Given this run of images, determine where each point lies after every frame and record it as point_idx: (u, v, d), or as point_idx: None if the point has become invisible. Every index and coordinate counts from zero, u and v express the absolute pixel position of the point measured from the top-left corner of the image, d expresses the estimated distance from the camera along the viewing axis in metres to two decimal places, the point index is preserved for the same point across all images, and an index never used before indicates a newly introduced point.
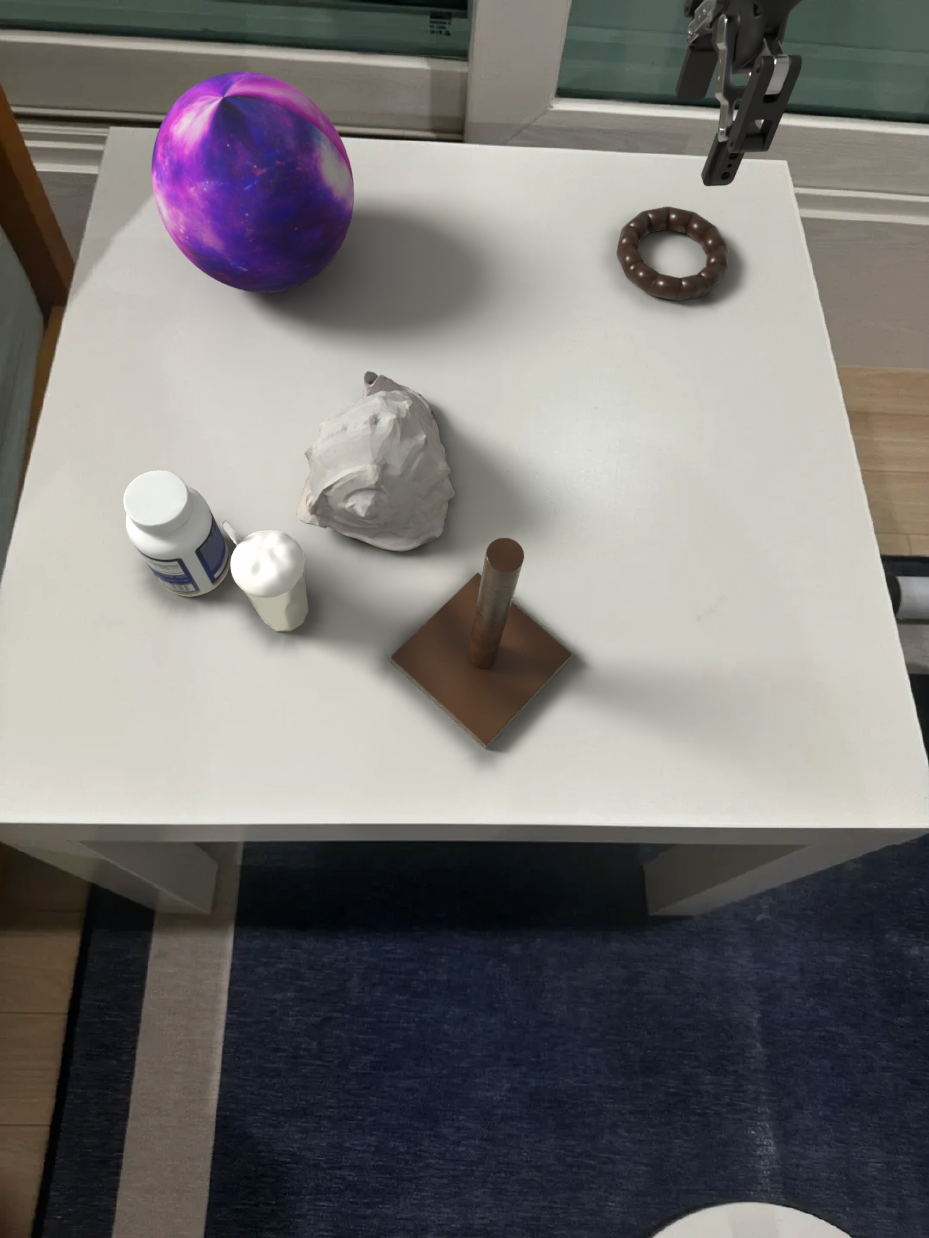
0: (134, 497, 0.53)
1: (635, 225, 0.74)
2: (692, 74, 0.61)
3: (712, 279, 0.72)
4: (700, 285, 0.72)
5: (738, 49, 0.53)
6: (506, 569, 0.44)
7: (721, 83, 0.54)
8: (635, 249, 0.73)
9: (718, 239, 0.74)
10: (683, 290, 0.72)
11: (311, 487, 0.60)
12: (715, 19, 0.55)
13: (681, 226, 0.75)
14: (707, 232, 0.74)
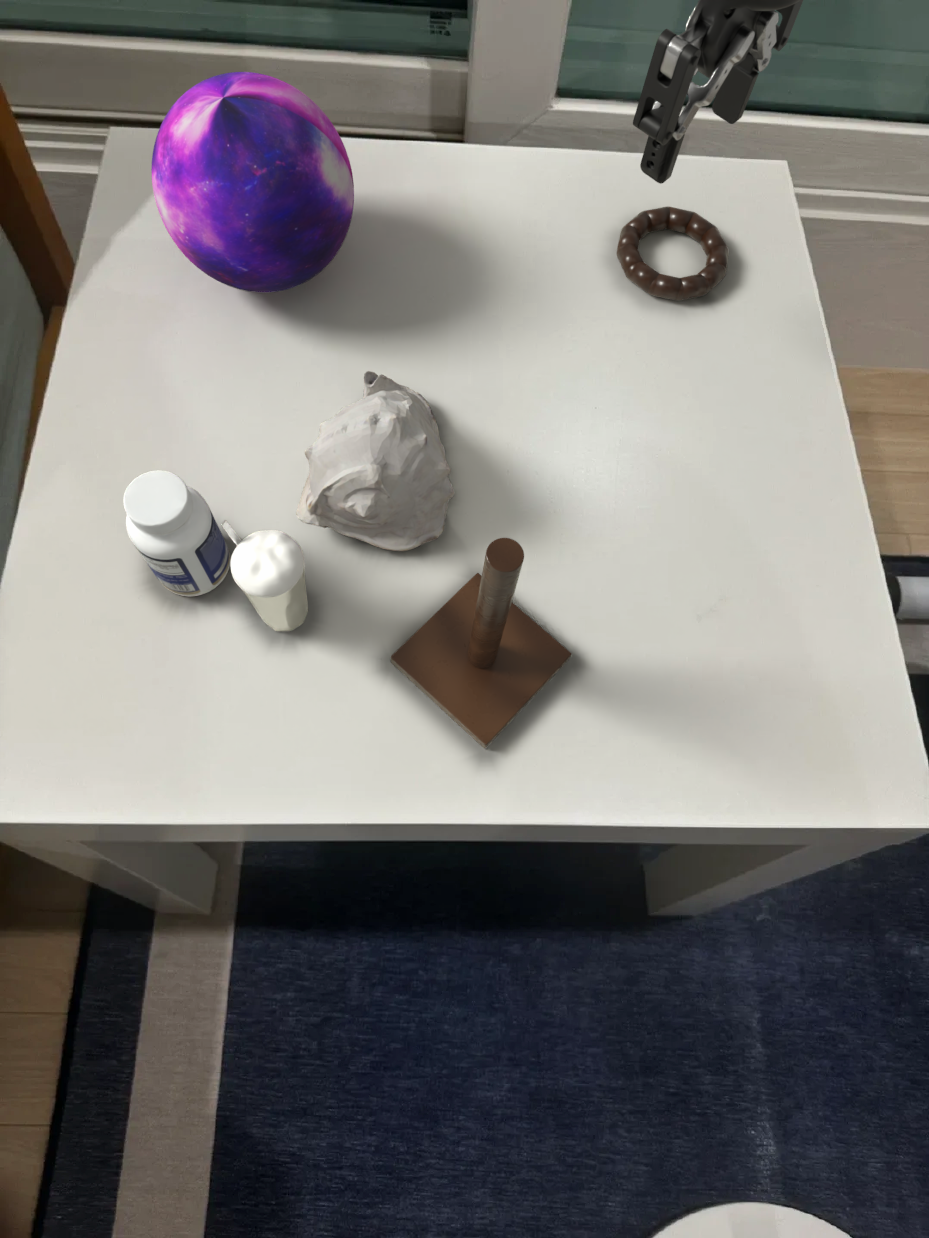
0: (134, 497, 0.53)
1: (635, 225, 0.74)
2: (727, 89, 0.60)
3: (712, 279, 0.72)
4: (700, 285, 0.72)
5: None
6: (506, 569, 0.44)
7: None
8: (635, 249, 0.73)
9: (718, 239, 0.74)
10: (683, 290, 0.72)
11: (311, 487, 0.60)
12: None
13: (681, 226, 0.75)
14: (707, 232, 0.74)
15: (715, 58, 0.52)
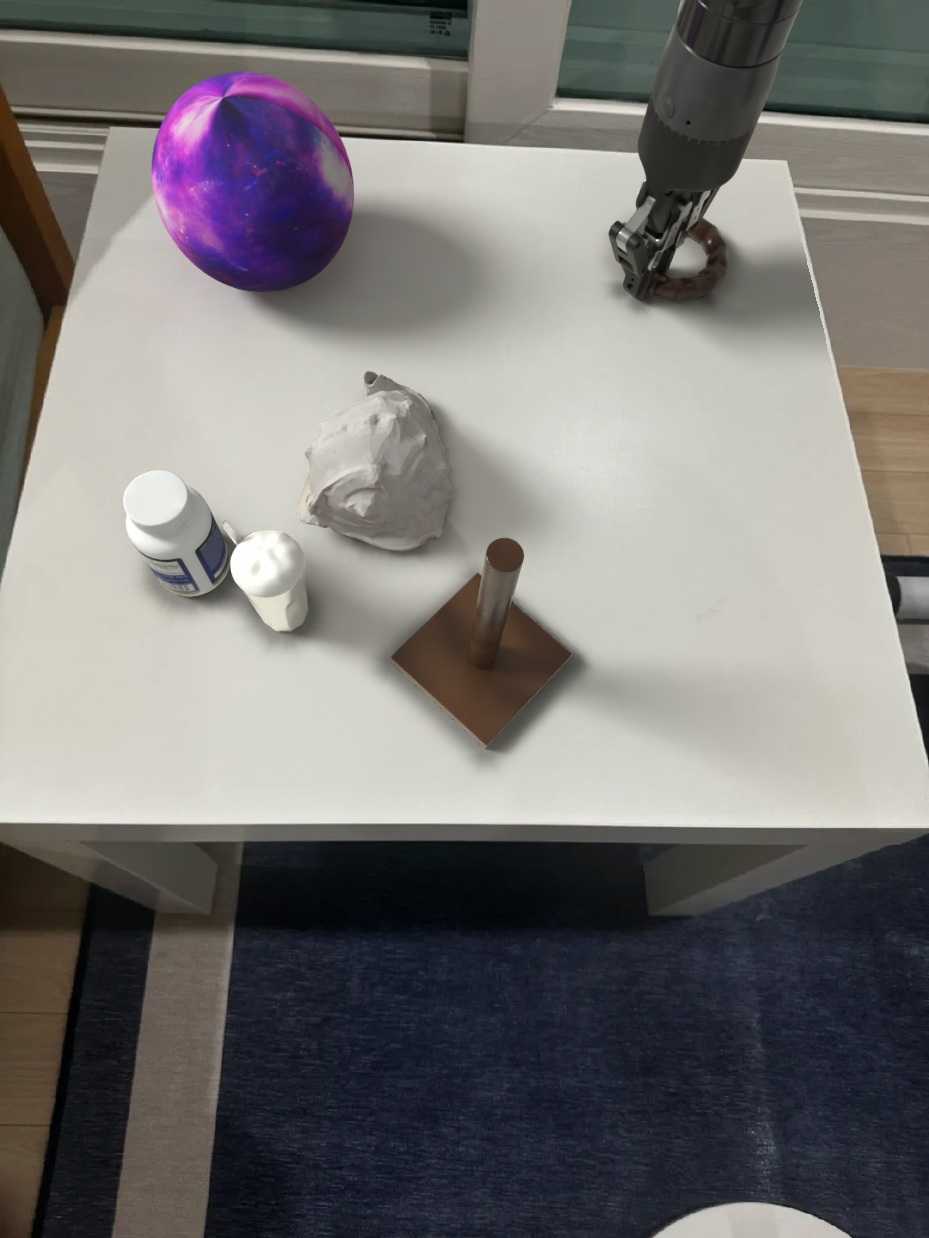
0: (134, 497, 0.53)
1: None
2: None
3: (712, 279, 0.72)
4: (700, 284, 0.72)
5: None
6: (506, 569, 0.44)
7: None
8: None
9: (718, 239, 0.74)
10: (683, 290, 0.72)
11: (311, 487, 0.60)
12: None
13: None
14: (707, 232, 0.74)
15: (660, 222, 0.64)
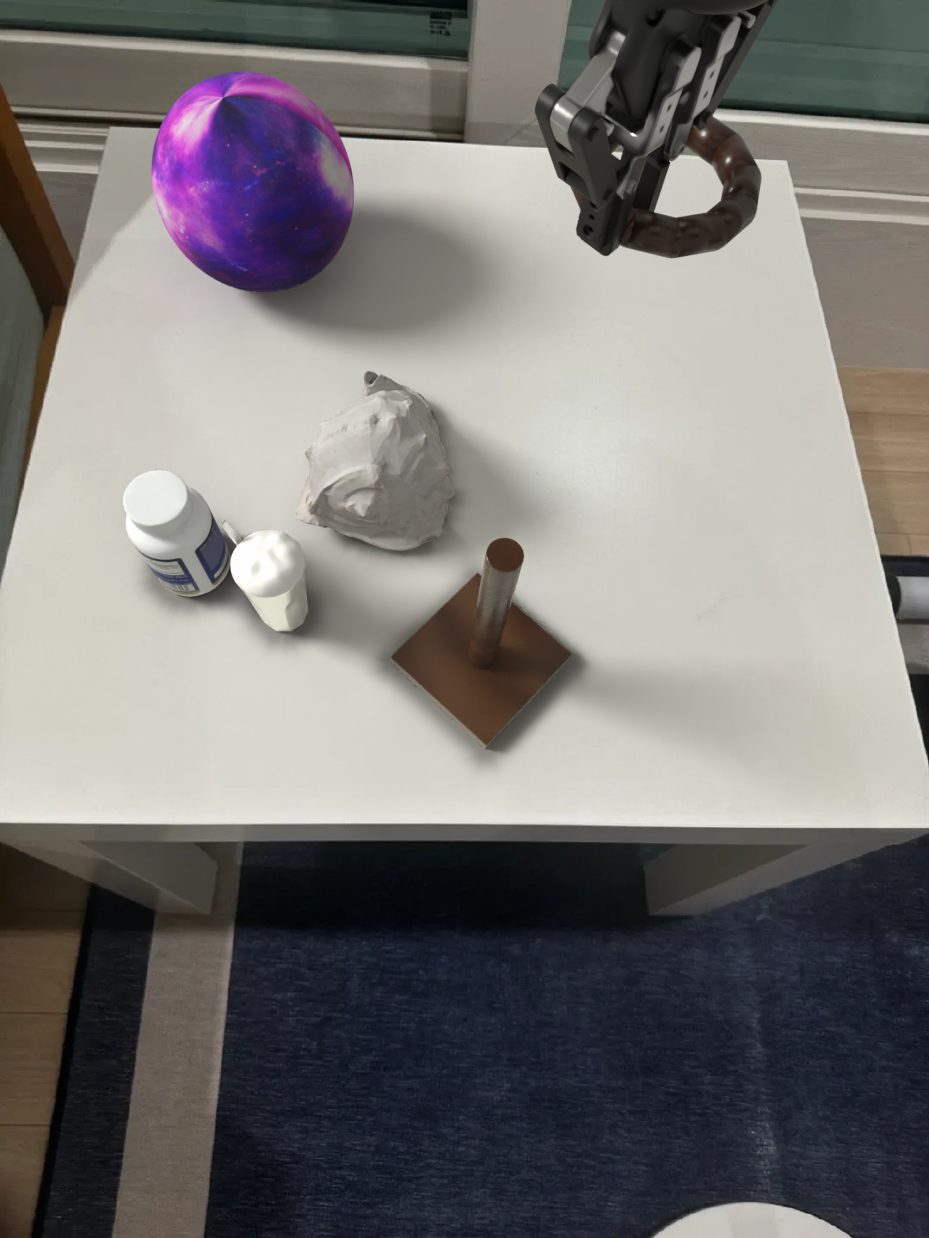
0: (134, 497, 0.53)
1: None
2: None
3: (732, 221, 0.41)
4: (711, 230, 0.41)
5: None
6: (506, 569, 0.44)
7: None
8: None
9: (744, 155, 0.43)
10: (682, 238, 0.40)
11: (311, 487, 0.60)
12: None
13: None
14: (725, 143, 0.43)
15: (637, 90, 0.32)
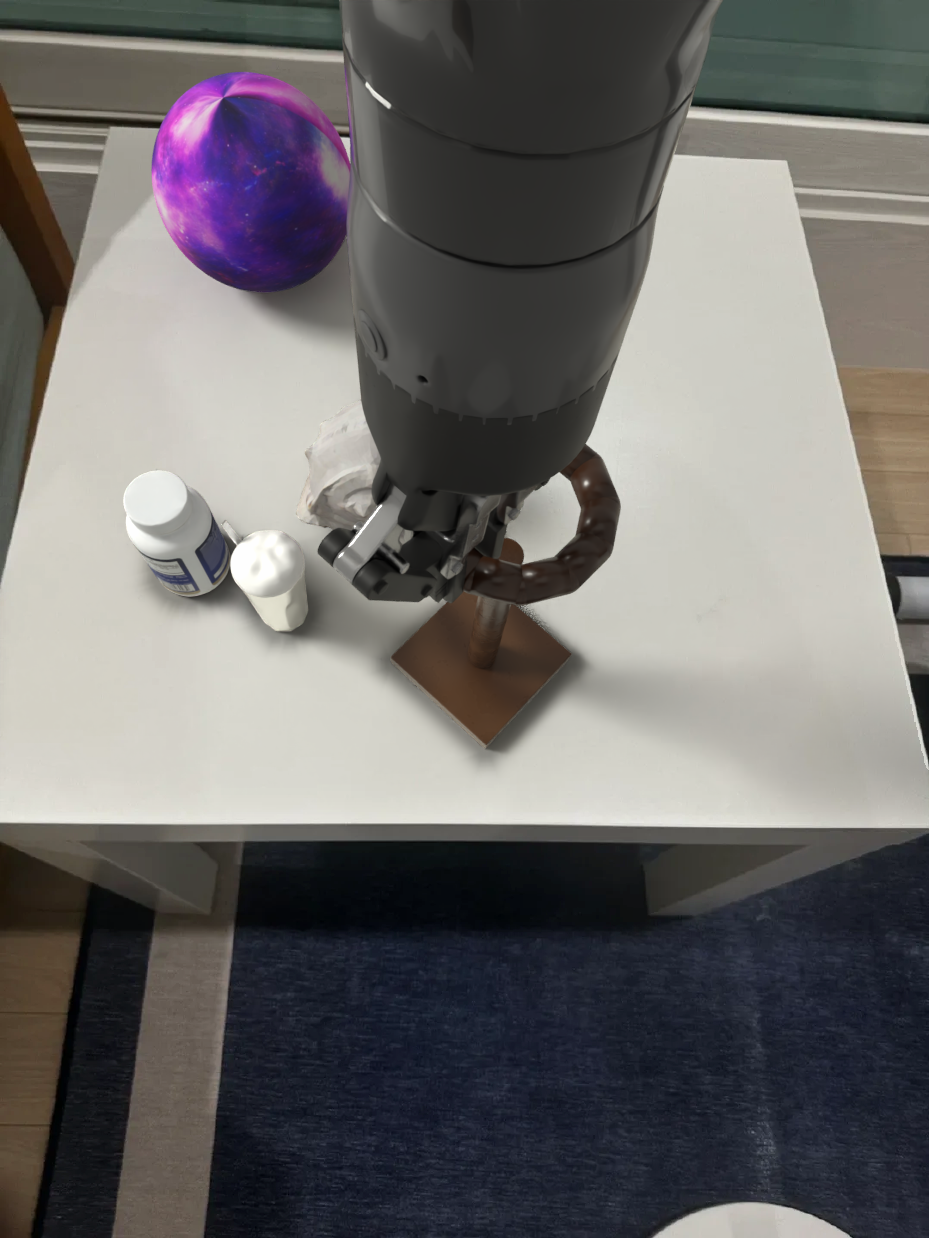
0: (134, 497, 0.53)
1: None
2: None
3: (583, 569, 0.38)
4: (559, 580, 0.38)
5: None
6: None
7: None
8: None
9: (600, 483, 0.39)
10: (526, 592, 0.37)
11: (311, 487, 0.60)
12: None
13: None
14: (581, 467, 0.40)
15: (432, 528, 0.29)
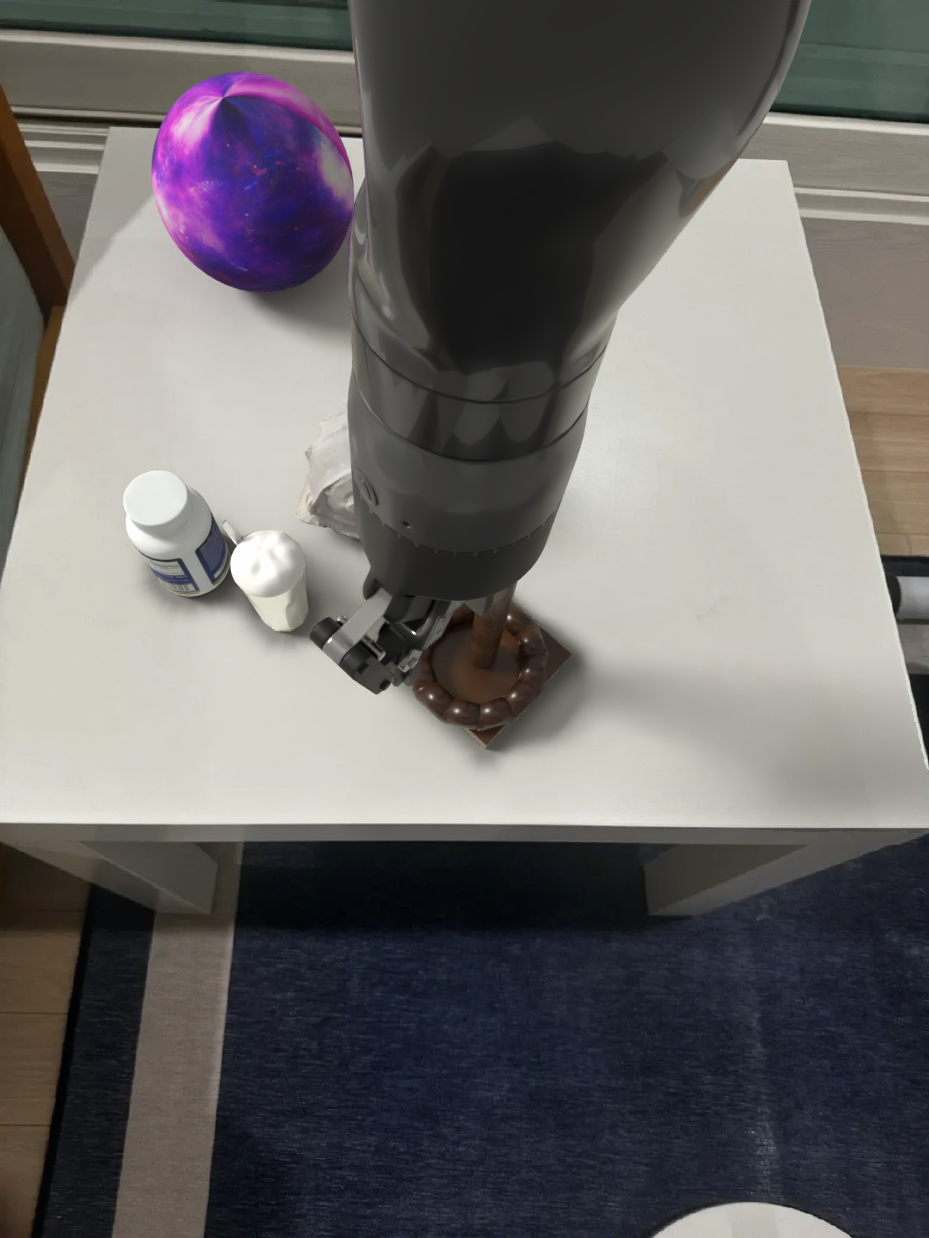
0: (134, 497, 0.53)
1: None
2: None
3: (521, 706, 0.56)
4: (505, 714, 0.56)
5: None
6: None
7: None
8: (424, 664, 0.57)
9: (534, 643, 0.58)
10: (483, 724, 0.56)
11: (311, 487, 0.60)
12: None
13: None
14: (521, 632, 0.58)
15: (413, 619, 0.35)
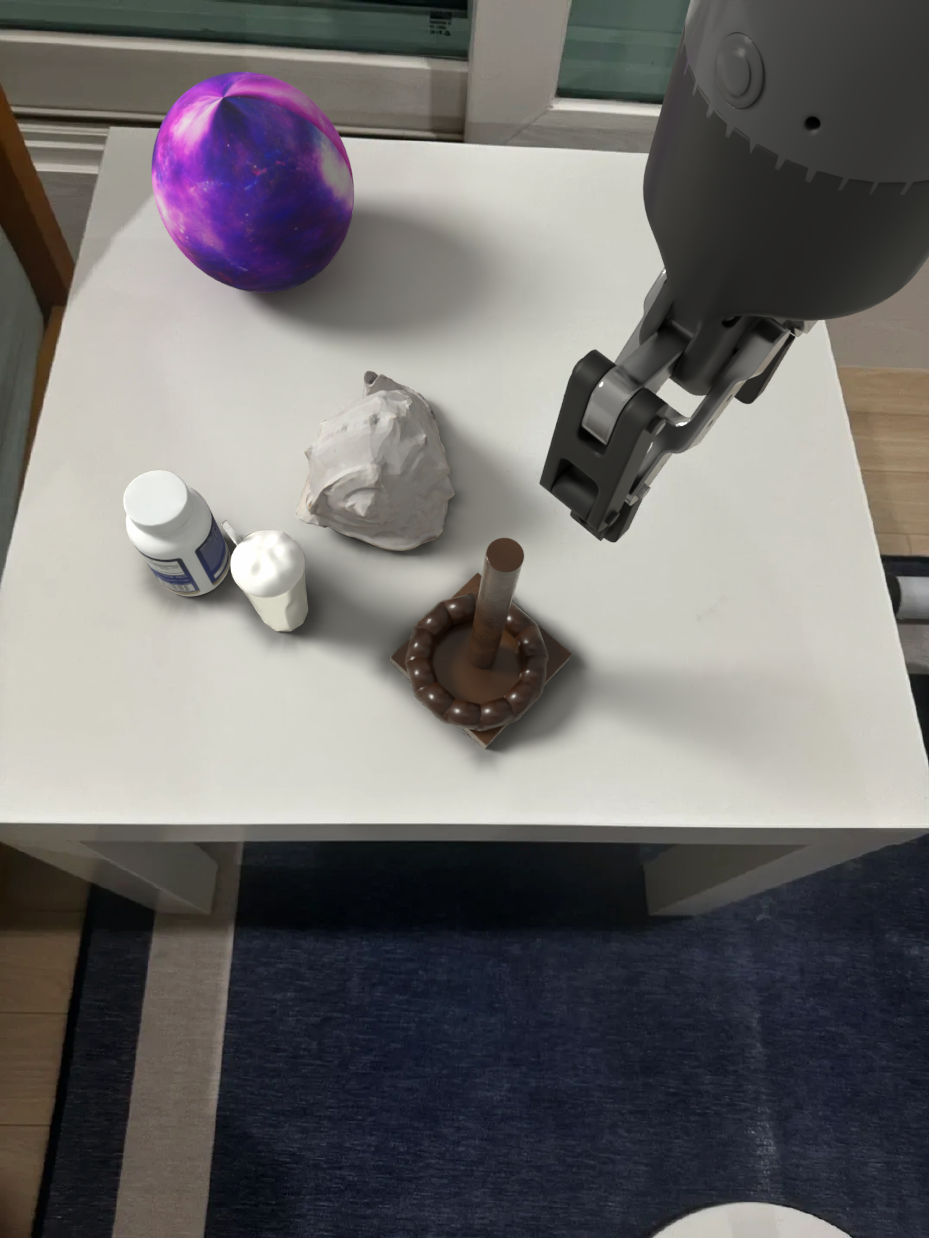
0: (134, 497, 0.53)
1: (429, 626, 0.58)
2: None
3: (522, 706, 0.56)
4: (506, 715, 0.56)
5: None
6: (506, 569, 0.44)
7: None
8: (425, 664, 0.57)
9: (534, 644, 0.58)
10: (483, 724, 0.56)
11: (311, 486, 0.60)
12: None
13: None
14: (522, 633, 0.58)
15: (704, 382, 0.24)
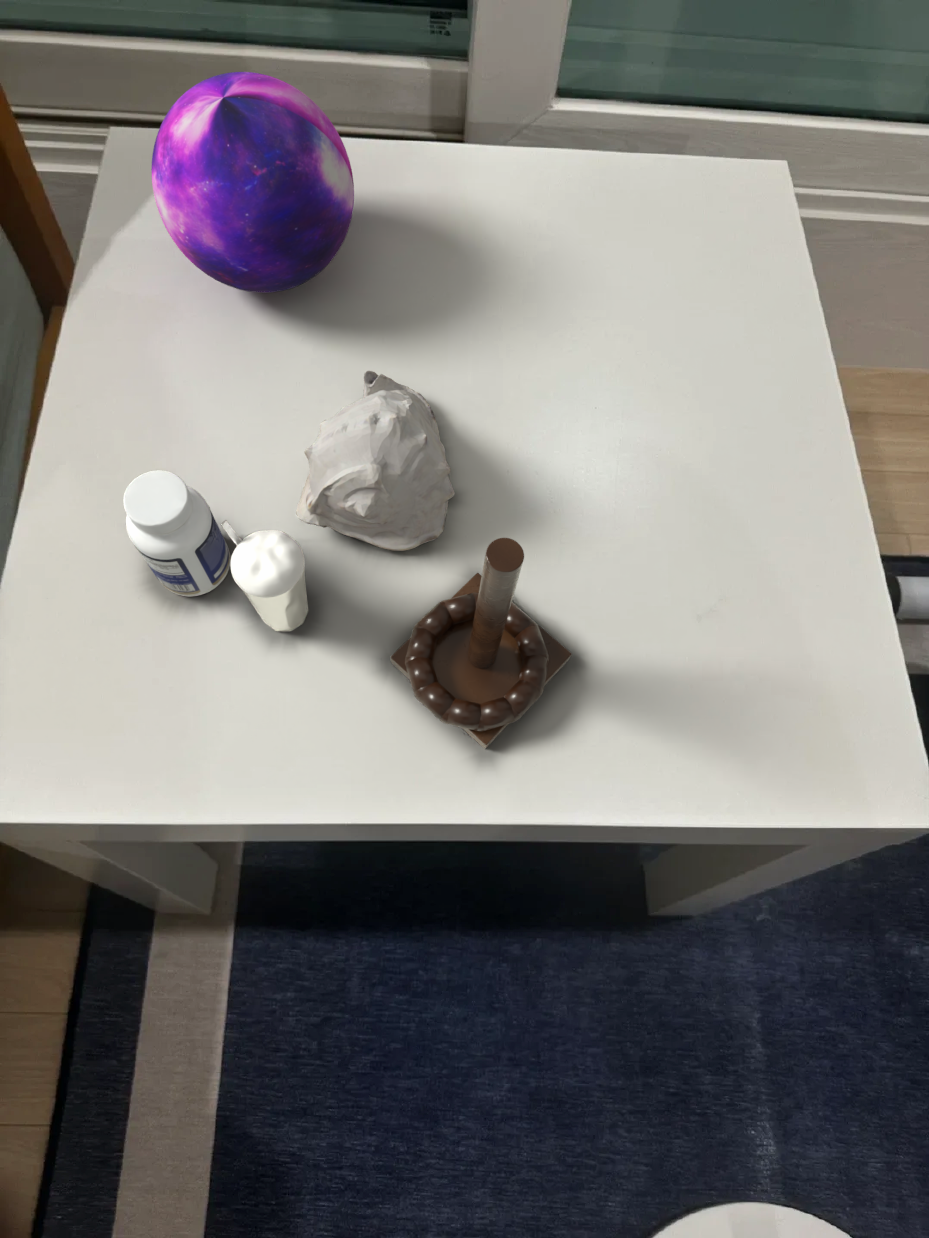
0: (134, 497, 0.53)
1: (429, 626, 0.58)
2: None
3: (522, 706, 0.56)
4: (506, 715, 0.56)
5: None
6: (506, 569, 0.44)
7: None
8: (425, 664, 0.57)
9: (534, 644, 0.58)
10: (483, 724, 0.56)
11: (311, 486, 0.60)
12: None
13: None
14: (522, 633, 0.58)
15: None
